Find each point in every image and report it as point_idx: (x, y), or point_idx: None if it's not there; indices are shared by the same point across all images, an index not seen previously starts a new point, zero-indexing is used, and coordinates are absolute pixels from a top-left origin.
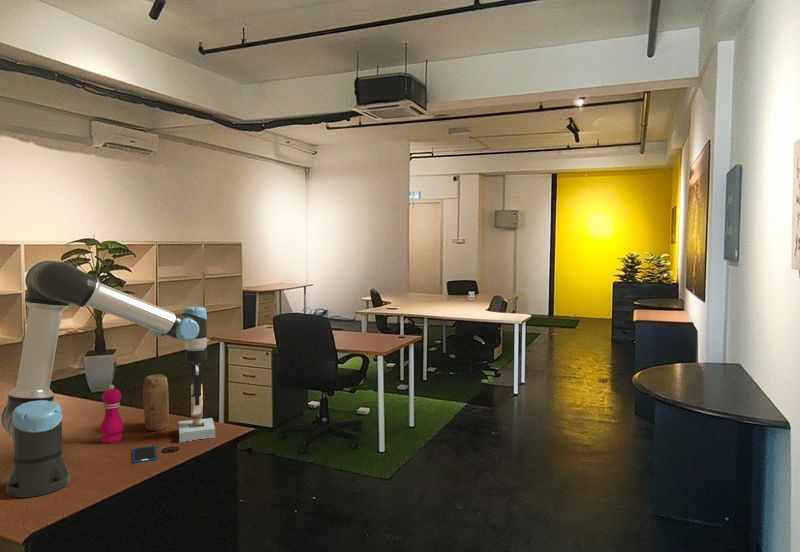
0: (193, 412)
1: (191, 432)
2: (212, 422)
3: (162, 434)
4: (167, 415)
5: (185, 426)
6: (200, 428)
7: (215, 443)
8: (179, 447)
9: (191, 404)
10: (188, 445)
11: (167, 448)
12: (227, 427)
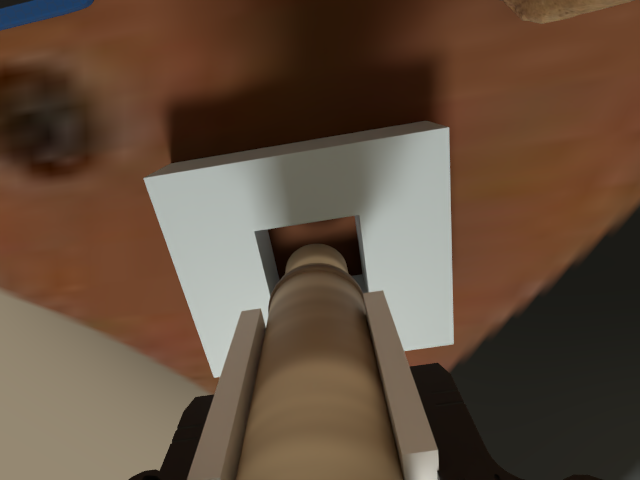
0: (239, 323)
1: (173, 251)
2: None
3: (370, 7)
4: (551, 6)
5: (294, 200)
6: (232, 301)
7: (147, 345)
8: (81, 175)
9: (285, 347)
10: (117, 221)
11: (59, 101)
12: None
